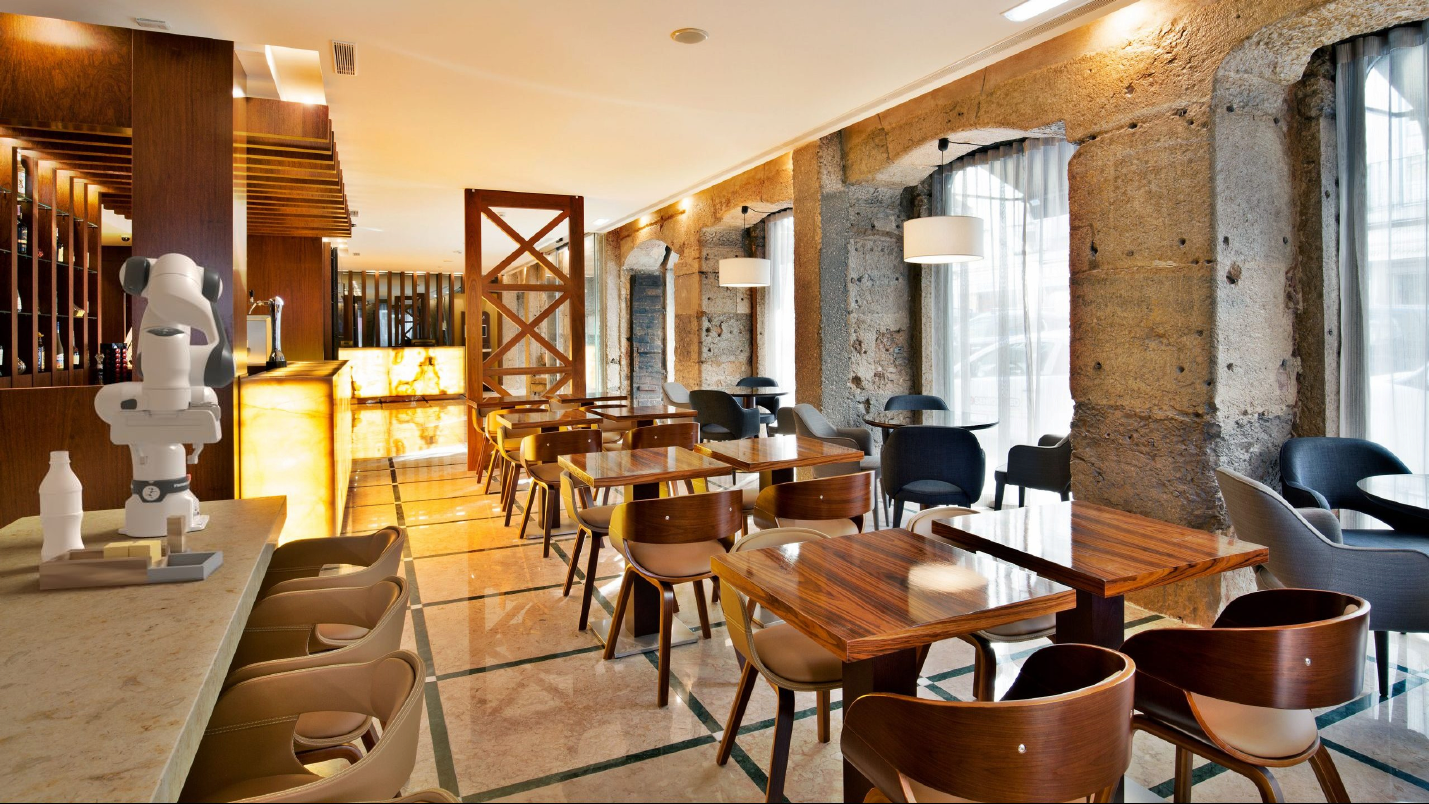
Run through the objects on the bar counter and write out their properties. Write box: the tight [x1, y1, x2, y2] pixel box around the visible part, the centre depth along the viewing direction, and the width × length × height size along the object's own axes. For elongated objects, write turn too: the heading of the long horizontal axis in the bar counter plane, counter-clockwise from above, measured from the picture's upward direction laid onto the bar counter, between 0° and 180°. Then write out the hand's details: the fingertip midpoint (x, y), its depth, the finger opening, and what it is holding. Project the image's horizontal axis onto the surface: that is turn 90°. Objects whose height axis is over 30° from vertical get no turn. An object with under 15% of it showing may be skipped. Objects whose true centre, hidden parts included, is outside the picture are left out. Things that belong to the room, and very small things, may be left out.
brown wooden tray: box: [38, 544, 170, 591], centre depth 157 cm, size 12×18×5 cm, turn 107°
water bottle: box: [38, 450, 85, 563], centre depth 165 cm, size 7×7×25 cm
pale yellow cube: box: [129, 539, 162, 563], centre depth 159 cm, size 4×4×4 cm
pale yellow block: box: [102, 541, 134, 558], centre depth 157 cm, size 4×4×4 cm
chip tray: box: [146, 550, 224, 584], centre depth 161 cm, size 12×10×3 cm
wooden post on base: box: [166, 515, 191, 554], centre depth 169 cm, size 6×3×10 cm, turn 17°
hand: (168, 464), depth 167 cm, fingers open, 8 cm apart
